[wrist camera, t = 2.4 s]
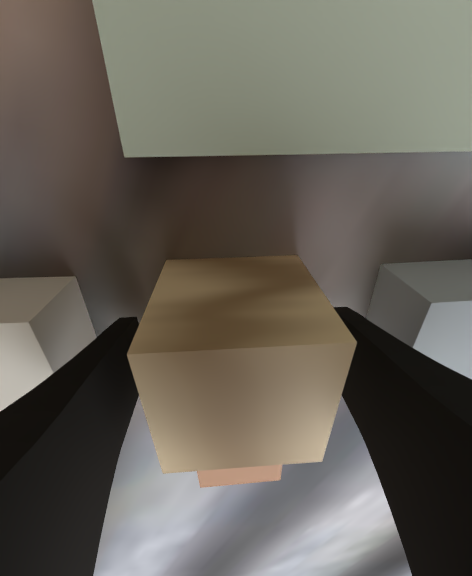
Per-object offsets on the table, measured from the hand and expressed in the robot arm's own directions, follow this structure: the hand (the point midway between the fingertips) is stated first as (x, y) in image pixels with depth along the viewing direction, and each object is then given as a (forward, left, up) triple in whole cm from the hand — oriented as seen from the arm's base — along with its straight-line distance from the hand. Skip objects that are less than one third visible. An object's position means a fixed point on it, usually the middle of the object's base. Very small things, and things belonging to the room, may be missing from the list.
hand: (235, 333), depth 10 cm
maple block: (0, 0, -2) cm, 2 cm away
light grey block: (+8, 0, -2) cm, 8 cm away
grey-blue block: (-8, 0, -2) cm, 8 cm away
